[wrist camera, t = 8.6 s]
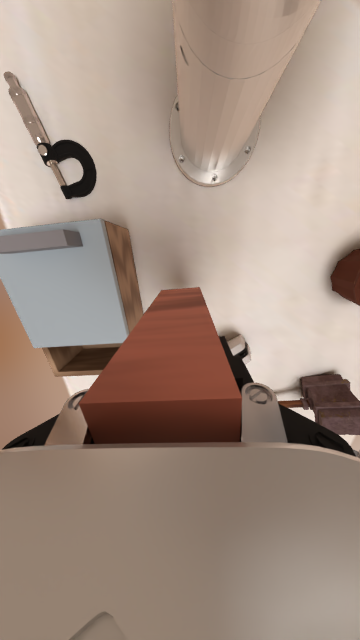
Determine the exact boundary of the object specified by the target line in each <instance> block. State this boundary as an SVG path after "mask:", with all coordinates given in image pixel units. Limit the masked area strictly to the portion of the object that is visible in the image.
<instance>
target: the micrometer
mask: <svg viewBox="0 0 360 640" xmlns="http://www.w3.org/2000/svg"><path fill="white" fill-rule="evenodd" d="M4 77H5V79H6V81H7V83H8V84H9V86H10V88H9V94H10V96H11V98H12V100H13V102H14V104H15V105H16V107H17V109H18V111H19V113H20V115H21V117H22V119H23V122H24V124H25V126H26V128H27V130H28V131H29V133H30V135H31V137H32V139H33V141H34V143H35V145H36V146H37V149H38V151H39V153H40V155H41V157H42V159H43V161H44V163H45V165H46V166H48V167H51V168H52V170H53V172H54V174H55V176H56V178H57V180H58V182H59V184H60V186H61V187H60V188H61V190H62V192H63V194H64V196H65V198H66V199H71V198H72V197H84V196H87V195H88V194H90V193H91V192H92V190H93V188H94V186H95V183H96V168H95V164H94V162H93V159H92V157H91V156H90V154H89V153H88V151H87V150H86V149H85V148H84V147H83V146H81V145H80V144H78V143H77V142H74V141H71V140H61V141H58V142H56V143H55V144H54V145H53V146H51V145H50V144H49V140H48V138H47V136H46V134H45V132H44V130H43V127H42V125H41V123H40V120H39V119H38V117H37V115H36V113H35V111H34V109H33V107H32V104H31V102H30V99H29V97H28V95H27V93H26V92H25V90H24V89H22V88H21V87H19V85H18V81H17V79H16V77H15V75H14V74H12V73H11V72H5V73H4ZM69 157H72V158H75V159H77V160H78V161H80V163H81V164H82V167H83V177H82V179H81V180H80V181H79V182H76V183H74V184H71V185H68V186H66V185H65V183H64V181H63V178H62V176H61V174H60V172H59V170H58V168H57V166H56V165H57V164H59V161H61V160H64V159H66V158H69Z"/></svg>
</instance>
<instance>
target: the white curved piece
mask: <svg viewBox="0 0 360 640" xmlns="http://www.w3.org/2000/svg"><path fill="white" fill-rule="evenodd" d="M227 343H228V345H229V347H230V350H231V352H232V354H233V355H240V357H241V358H242V360H243V362H244V364H247V363H248V362H250V361H251V355H250V354H251V351H250V349H249V346H248V344H246V343H245V340H244V337H243V336H242V335H239V336H237V337H235V338H233V339H231V340H229V341H227Z"/></svg>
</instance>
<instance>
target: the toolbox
mask: <svg viewBox="0 0 360 640" xmlns="http://www.w3.org/2000/svg"><path fill="white" fill-rule="evenodd" d="M104 222H105V227H106V231H107V236H108V240H109V245H110V249H111V254H112V258H113V263H114V267H115V272H116V276H117V281H118V285H119V290H120V294H121V299H122V303H123V308H124V312H125V317H126V321H127V326H128V330H129V334H130V333H131V331H132V330H133V329H134V327H135V326H136V324H137V323H138V322H139V320H140V319H141V318H142V316H143V309H142V304H141V298H140V292H139V287H138V281H137V276H136V270H135V264H134V259H133V253H132V248H131V242H130V236H129V231H128V229H125V228H123V227H120V226H117V225H115V224H112V223H110V222H107V221H104ZM122 344H123V343H112V344H95V345H77V346H60V347H42V349H43V351H44V353H45V355H46V357H47V359H48V362H49V364H50V366H51V369H52V371H53V373H54V375H55V376H56V377H59V376H82V375H100V374H101V372H102V371H103V369H104V368H105V367H106V365H107V364H108V363H109V361H110V360H111V359H112V357H113V356H114V354H115V353H116V352H117V350H118V349H119V348H120V346H121V345H122Z"/></svg>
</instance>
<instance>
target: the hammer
mask: <svg viewBox="0 0 360 640" xmlns="http://www.w3.org/2000/svg"><path fill="white" fill-rule="evenodd" d="M301 381H302V391H303V397H304V399H302V398H300V400H292V401H278V403H279V404H281V405H283V406H285V407H287V408H294V407H303V409H304V410H308V409H309V407H310V409H311V410H313V412H314V414H315V422H316V423H318V424H319V425H321V426H323V427H325V428H327V429H329V430H331V431H333V432H334V433H336V434H338V435H346V434H349V435H360V401H359V400H358V399H357V398H356V397H355V396H354V395H353V393H352V392H351V391H350V382H349V381H348V380H347V379H342V377H341V375H338V374H335V375H322V376H310V377H301Z"/></svg>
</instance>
